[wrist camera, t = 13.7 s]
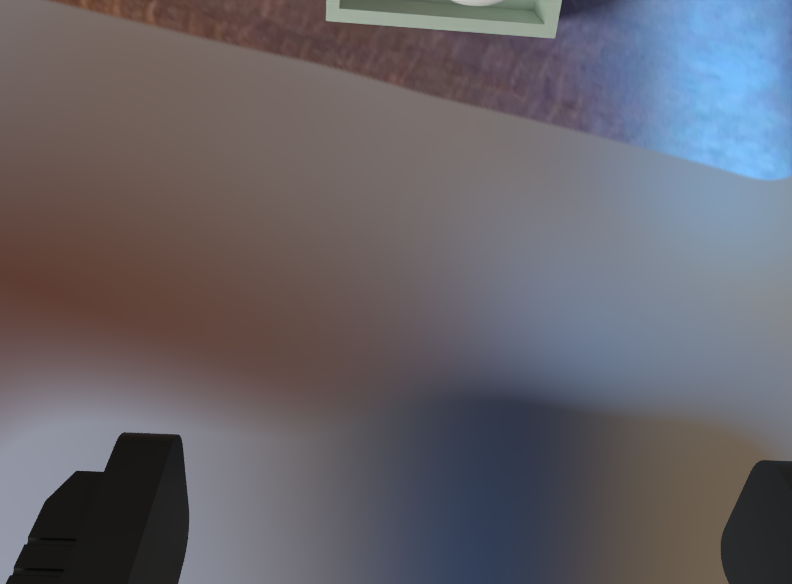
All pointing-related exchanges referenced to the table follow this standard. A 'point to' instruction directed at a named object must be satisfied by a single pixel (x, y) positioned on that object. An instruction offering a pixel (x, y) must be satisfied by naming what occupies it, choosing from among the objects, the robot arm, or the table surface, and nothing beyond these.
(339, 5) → the tray
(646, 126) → the table surface
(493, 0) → the sprinkles bottle
